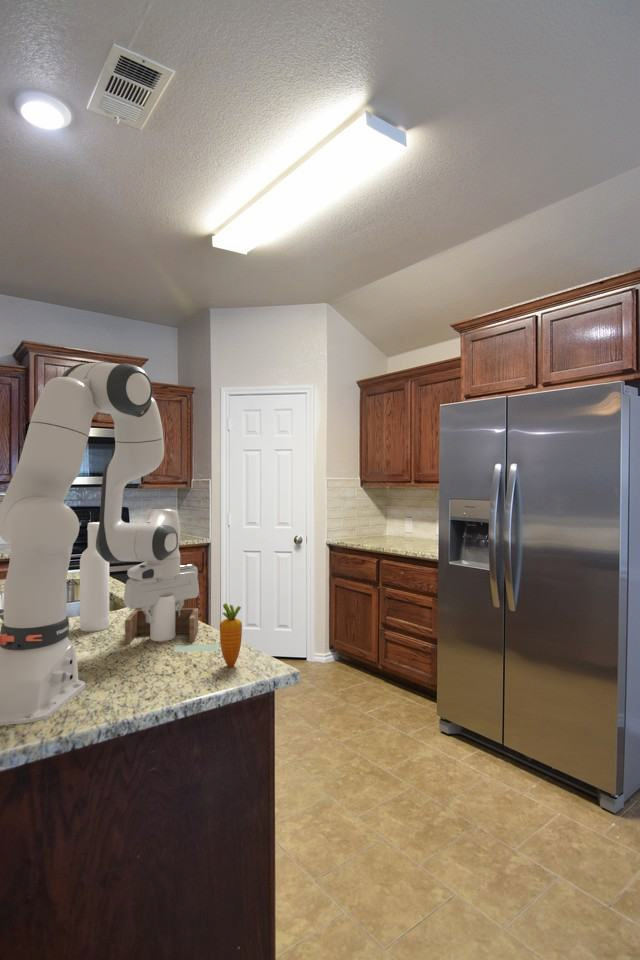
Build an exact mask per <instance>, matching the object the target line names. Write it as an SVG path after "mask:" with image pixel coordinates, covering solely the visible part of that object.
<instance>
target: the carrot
mask: <svg viewBox="0 0 640 960" xmlns="http://www.w3.org/2000/svg"><path fill="white" fill-rule="evenodd" d="M222 606H223V609H224V611H225V612H222V615H223V616H224V617H226V618H224V619H223V620H222V621H221V622H220V623H219V640H220V641H219V642H220V647H221V654H222V657H223V659H224V662H225V664H226V666H227V667H228V668H234V666H235V664H236V663H237V660H238V658H239V655H240V651H241V645H242V635H243V634H242V633H243V632H242V631H243V624H242V623H243V622H242V621H241V620H239V619H238V618H236V617H237V615H238V613H239V611H240V610H241V609H242V607H241V606H240V605H237V607H236V608H235V607H234V605H233V604H230V605H228V603H223V605H222Z"/></svg>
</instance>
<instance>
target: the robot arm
mask: <svg viewBox="0 0 640 960" xmlns="http://www.w3.org/2000/svg"><path fill="white" fill-rule="evenodd" d="M153 396H154V395H153V385H152V382H151V379H150V377H149V375H148V374H147V372H146V371H145V370H144V369H143V368H141V367H140V366H137V365H134V364H131V363H121V364H120V363H113V362H111V363H110V362H106V361H100V362H99V361H98V362H91V363H84V362H83V363H78V364H76V365H73V366H72V365H71V367H69V368H67V369H66V370H64V372H63V374H62V375H61V376H59V377H58V376H57V377H54V378H51V379H50V380H49V381H47V382H46V384H45V385H44V387H43V389H42V391H41V393H40V395H39V396H38V399H37V402H36V404H35V406H34V410H33V411H32V414H31V418H30V422H29V424H28V425H29V426H28V430H27V433H26V435H25V440H24V443H23V447H22V451H21V455H20V457H19V461H18V464H17V466H16V469H15V471H14V473H13V475H12V477H11V480H10V482H9V484H8V487H7V488H6V492H5V493H4V497H3V499H2V502H1V504H0V539H2V540H3V541H4V542H5V543H6V544H8V545H10V556H9V563H8V569H7V573H6V577H5V580H4V582H3V623H1V627H0V727H2V726H3V725H5V726H10V725H9V724H17V725H23V724H22V723H25V724H28V723H29V724H30V722H31V723H35V721H36V722H39V721H38V720H40V721H43V720H46V719H47V717H48V718H49V717H50V716H52V715H53V714H54V713H55V712H57V711H58V710H60V709H61V708H62V707H63V706H65V705H66V704H67V703H69V702H70V701H71V700H73V699H74V698H75V697H76V696H78V695H79V694H81V693H82V692H83V691H84V690H85V689H86V688H87V685H86V681H83V680H81V679H79V670H78V668H79V667H78V655H77V647H76V646H75V645H74V644H73V643H72V641H70V639H69V634H70V621H69V620H70V619H69V617H68V616H67V582H68V581H67V579H68V572H69V568H70V562H71V557H72V552H73V546H74V543H75V542H76V540H77V539H78V536H79V532H80V522H79V521H80V520H79V518H78V515H77V514H76V512H75V511H74V510H73V509H72V508H71V507H70V505H68V504H66V503H65V500H66V497H67V495H68V493H69V491H70V489H71V486H72V485H73V484H74V482H75V481H76V479H77V477H78V476H79V474H80V472H81V467H82V464H83V460H84V457H85V453H86V449H87V445H88V441H89V436H90V433H91V428H92V422H93V421H92V420H93V418H94V416H95V415H97V413H102V414H108V415H110V417H111V419H112V421H113V426H114V429H113V430H114V441H115V447H114V453H113V456H112V458H111V460H108V462H107V463H106V464H105V466H104V469H103V472H102V480H101V492H100V510H99V521H98V522H99V528H98V532H97V537H96V549H97V552H98V553H99V555H100V556H101V557H102V558H103V559H104V560H105V561H107V562H109V564H110V563H120V562H121V563H123V562H138V563H139V562H141V563H139V564H137V565H135V566H132V567H130V568H129V569H128V570H127V571H126V572H127V573H126V574H127V576H128V579H127V580H126V583H125V586H124V593H123V594H124V595H123V603H124V605H125V607H126V608H128V609H130V610H135V609H136V608H142V611H143V613H144V614H145V615H146V622H147V623H151V622H153V621H154V616H153V615H151V614H150V613H149V611H148V610H150V606H153V605H157V602H158V600H159V596H169V595H172V594H173V597H174V598H175V604H176V605H175V617H180V610H181V609H183V606H184V604H185V600H190V599H196V598H197V597H198V596H199V593H200V586H199V578H198V575H199V570H198V567H197V566H196V565H194V564H186V565H182V564H181V552H180V550H179V548H180V542H181V524H180V518H179V513H178V510H176V509H175V508H171V507H151V508H150V509H148V511H147V519H146V521H145V522H126V521H123V519H122V512H123V511H122V510H123V496H124V489H125V487H126V486H127V485H128V484H129V483H131V482H133V481H135V480H137V479H140V478H142V477H145V476H147V475H149V474H151V473H152V472H154V471H156V470H157V469H158V468H159V467H160V465H161V464H162V462H163V460H164V457H165V456H164V455H165V441H164V430H163V424H162V419H161V415H160V410H159V407H158V404H157V401H156V400H155V398H154V397H153Z"/></svg>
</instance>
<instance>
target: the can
mask: <svg viewBox="0 0 640 960" xmlns="http://www.w3.org/2000/svg"><path fill="white" fill-rule="evenodd" d="M175 608H176V601H175V598H174V597H173V594H172V595H169V596H159V600H158V602H157V605H153V606H150V614H151V615H153V616H154V621H153V622H151V623H150V634H149V635H150V640H152V642H153V641H154V642H167V641H168V642H169V641H170V640H173V639H175V638H176V633H175Z"/></svg>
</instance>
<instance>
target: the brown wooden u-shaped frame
mask: <svg viewBox="0 0 640 960" xmlns="http://www.w3.org/2000/svg"><path fill="white" fill-rule="evenodd" d="M148 611H149V613H150V610H148ZM185 633H186V634H189V643H195V641H196V638H197V635H198V633H199V608H198V607H194V608H193V607H191V608H189V607H188V608H186V607H185V608H183V607H182V609H181V610H180V617H175V634H185ZM138 635H150V623H147V622H146V615H145V614H144V613H143V611H142V610H135V609H132V611H131V612H130V614H129V615H128V616H127V617H126V619H125V620H124V644H125V645H130V644H132V642H133V641H134V640H135V638H136V637H137V636H138Z"/></svg>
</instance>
